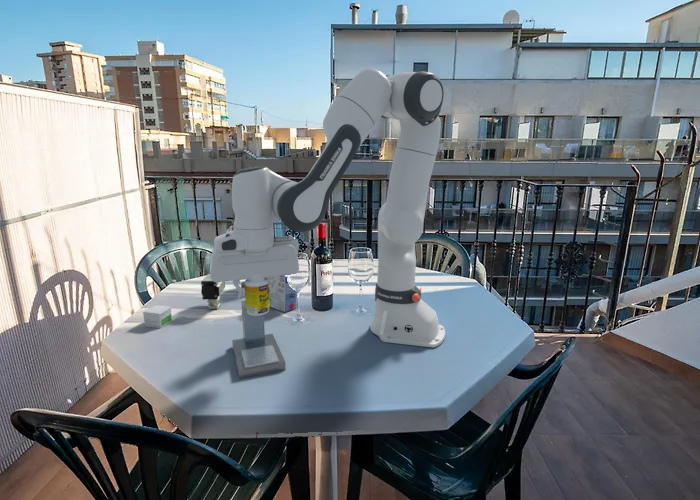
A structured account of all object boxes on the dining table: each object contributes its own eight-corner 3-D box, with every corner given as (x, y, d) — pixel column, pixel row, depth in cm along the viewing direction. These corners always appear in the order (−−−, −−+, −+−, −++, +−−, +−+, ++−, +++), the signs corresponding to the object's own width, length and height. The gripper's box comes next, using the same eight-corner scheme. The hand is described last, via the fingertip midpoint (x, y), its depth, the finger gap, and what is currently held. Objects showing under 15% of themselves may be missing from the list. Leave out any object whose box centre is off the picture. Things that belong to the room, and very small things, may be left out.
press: (285, 369, 93) (284, 320, 90) (239, 378, 89) (236, 328, 86) (272, 340, 107) (271, 297, 104) (232, 346, 103) (229, 302, 100)
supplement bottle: (261, 318, 88) (259, 276, 85) (241, 314, 90) (238, 273, 87) (274, 309, 93) (272, 269, 90) (255, 305, 95) (253, 267, 92)
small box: (160, 328, 113) (159, 313, 112) (144, 326, 114) (142, 311, 113) (173, 320, 118) (171, 306, 117) (157, 318, 119) (155, 304, 118)
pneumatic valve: (202, 314, 123) (199, 279, 120) (211, 301, 134) (209, 268, 131) (219, 314, 123) (217, 279, 120) (227, 300, 135) (225, 268, 132)
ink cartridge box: (297, 308, 130) (297, 267, 126) (285, 313, 125) (284, 271, 122) (278, 301, 135) (276, 262, 132) (266, 305, 131) (264, 265, 128)
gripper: (295, 232, 93) (296, 285, 97) (207, 238, 86) (211, 295, 89) (301, 238, 88) (302, 293, 91) (208, 244, 80) (213, 305, 84)
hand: (257, 294), depth 90 cm, fingers closed on supplement bottle, 6 cm apart
